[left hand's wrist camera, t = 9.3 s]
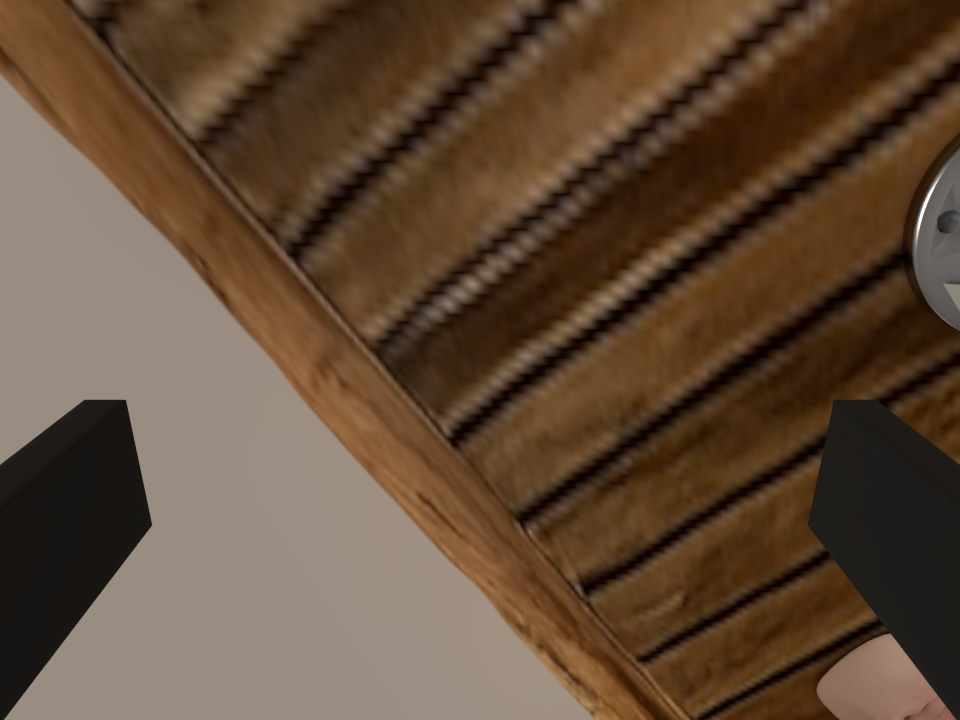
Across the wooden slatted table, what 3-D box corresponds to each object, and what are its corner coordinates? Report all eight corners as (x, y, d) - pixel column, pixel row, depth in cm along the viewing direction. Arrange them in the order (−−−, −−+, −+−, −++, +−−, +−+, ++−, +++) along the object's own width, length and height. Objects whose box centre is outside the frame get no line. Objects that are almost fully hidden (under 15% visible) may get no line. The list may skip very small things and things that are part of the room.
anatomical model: (818, 751, 54) (900, 646, 50) (796, 709, 57) (871, 608, 54) (959, 792, 56) (1049, 694, 52) (929, 749, 59) (1011, 654, 55)
